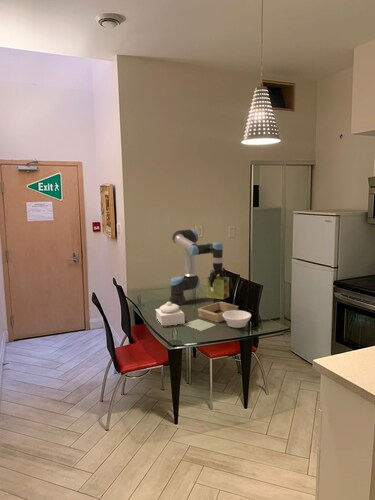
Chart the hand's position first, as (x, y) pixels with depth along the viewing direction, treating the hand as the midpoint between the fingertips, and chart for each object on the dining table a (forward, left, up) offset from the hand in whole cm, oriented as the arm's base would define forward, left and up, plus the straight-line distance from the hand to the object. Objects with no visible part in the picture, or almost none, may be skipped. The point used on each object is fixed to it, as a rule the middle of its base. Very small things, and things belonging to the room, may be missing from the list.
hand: (217, 289), depth 296 cm
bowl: (+24, -6, -22) cm, 33 cm away
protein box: (0, 0, -6) cm, 6 cm away
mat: (+4, -25, -21) cm, 33 cm away
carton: (0, 0, -21) cm, 21 cm away
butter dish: (-17, -36, -22) cm, 45 cm away
